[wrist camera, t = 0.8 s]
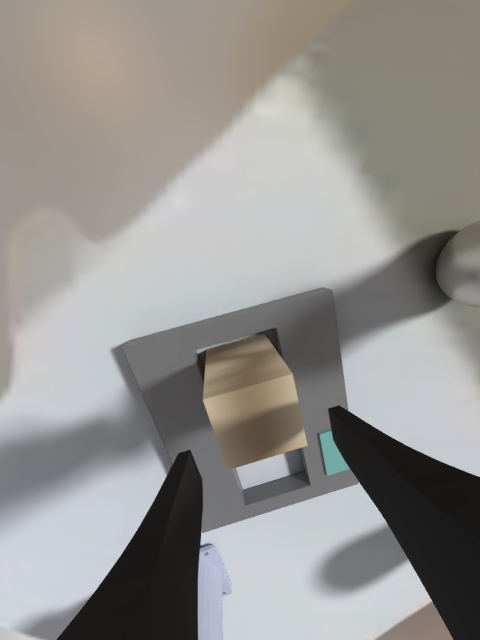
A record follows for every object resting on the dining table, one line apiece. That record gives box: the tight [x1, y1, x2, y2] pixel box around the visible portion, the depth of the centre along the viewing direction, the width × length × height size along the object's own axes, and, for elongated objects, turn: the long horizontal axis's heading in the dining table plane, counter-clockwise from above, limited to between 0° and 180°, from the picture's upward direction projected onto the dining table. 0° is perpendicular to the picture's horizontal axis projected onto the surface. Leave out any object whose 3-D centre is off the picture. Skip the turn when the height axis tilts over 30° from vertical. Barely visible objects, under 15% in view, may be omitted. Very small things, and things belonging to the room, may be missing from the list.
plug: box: [203, 333, 308, 470], centre depth 16 cm, size 5×5×7 cm
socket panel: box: [122, 288, 358, 533], centre depth 20 cm, size 16×20×2 cm
